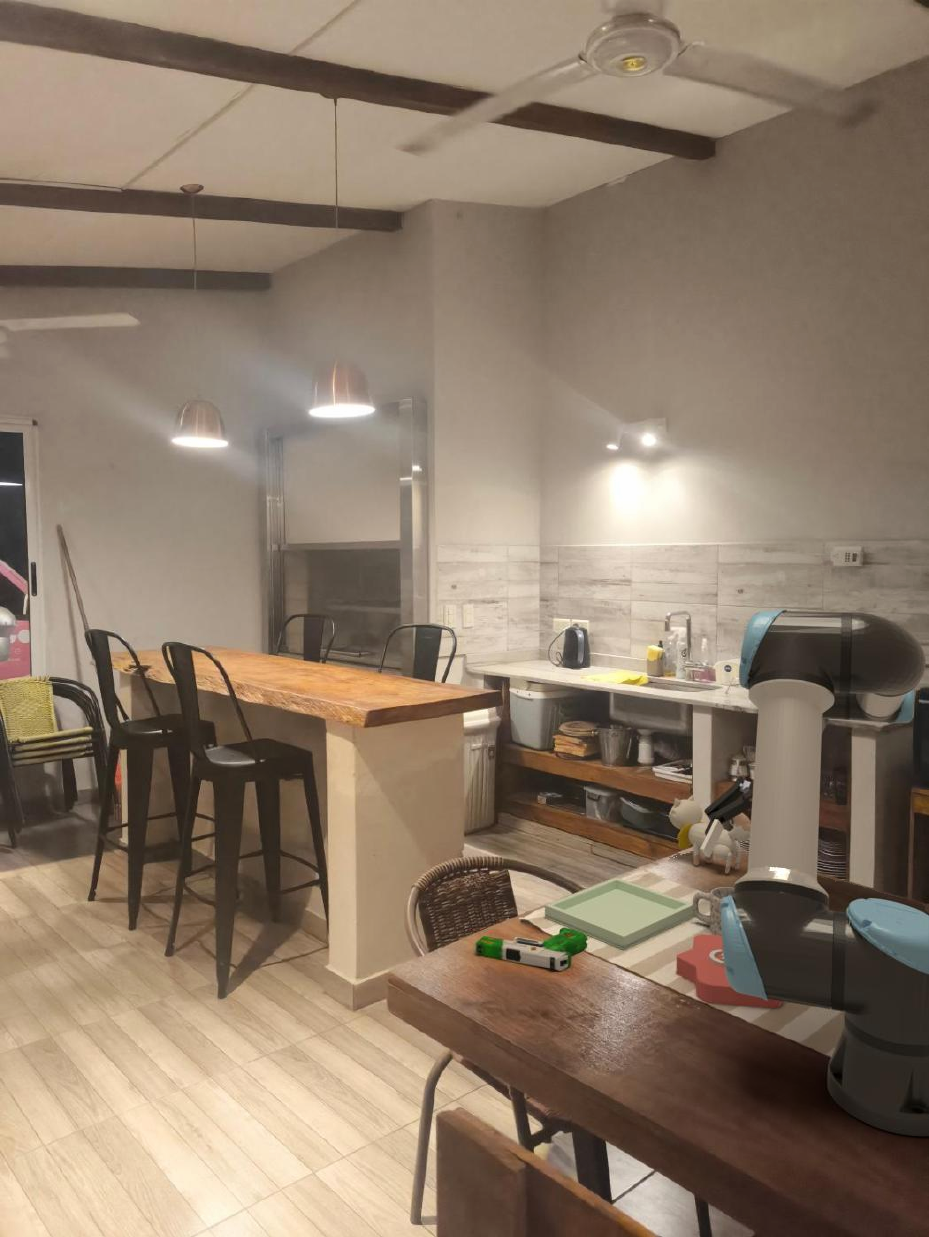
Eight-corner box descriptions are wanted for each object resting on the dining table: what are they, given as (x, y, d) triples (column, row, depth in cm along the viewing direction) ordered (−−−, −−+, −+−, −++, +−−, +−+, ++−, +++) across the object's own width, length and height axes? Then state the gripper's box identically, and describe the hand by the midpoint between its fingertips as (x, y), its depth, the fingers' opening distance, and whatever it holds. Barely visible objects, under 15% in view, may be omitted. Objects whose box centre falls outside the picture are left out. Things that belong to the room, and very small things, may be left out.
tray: (624, 950, 156) (624, 936, 155) (544, 917, 169) (544, 905, 169) (694, 916, 169) (694, 904, 169) (615, 888, 182) (615, 877, 182)
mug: (754, 928, 164) (755, 892, 163) (742, 942, 158) (743, 904, 158) (699, 916, 169) (699, 880, 169) (685, 929, 164) (686, 892, 163)
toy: (688, 850, 204) (689, 782, 202) (765, 874, 189) (767, 801, 188) (662, 859, 198) (662, 790, 197) (739, 885, 184) (741, 810, 182)
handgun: (503, 915, 165) (474, 940, 154) (589, 930, 158) (564, 958, 147) (504, 932, 165) (474, 958, 154) (589, 948, 158) (564, 976, 147)
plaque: (675, 928, 156) (769, 935, 153) (675, 950, 157) (768, 957, 154) (678, 978, 139) (783, 987, 136) (677, 1003, 139) (783, 1012, 136)
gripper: (854, 790, 168) (810, 892, 160) (732, 765, 187) (687, 855, 179) (841, 766, 164) (794, 870, 156) (718, 743, 183) (670, 834, 175)
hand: (737, 862), depth 167 cm, fingers open, 13 cm apart
